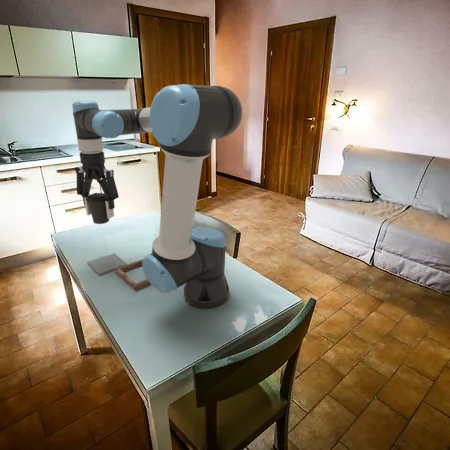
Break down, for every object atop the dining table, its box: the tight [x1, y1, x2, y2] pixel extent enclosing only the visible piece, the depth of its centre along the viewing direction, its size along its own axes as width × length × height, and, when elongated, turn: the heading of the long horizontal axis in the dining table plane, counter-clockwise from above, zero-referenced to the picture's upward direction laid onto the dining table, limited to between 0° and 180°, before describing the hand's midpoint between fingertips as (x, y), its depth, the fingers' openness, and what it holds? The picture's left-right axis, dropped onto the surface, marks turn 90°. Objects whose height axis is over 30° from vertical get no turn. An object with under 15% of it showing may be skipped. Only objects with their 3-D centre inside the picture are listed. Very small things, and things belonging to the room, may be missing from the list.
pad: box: [86, 253, 128, 277], centre depth 122 cm, size 11×11×1 cm
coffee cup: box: [86, 192, 110, 225], centre depth 113 cm, size 8×8×10 cm
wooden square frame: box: [115, 258, 152, 292], centre depth 116 cm, size 14×14×3 cm
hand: (100, 215), depth 114 cm, fingers closed on coffee cup, 8 cm apart
